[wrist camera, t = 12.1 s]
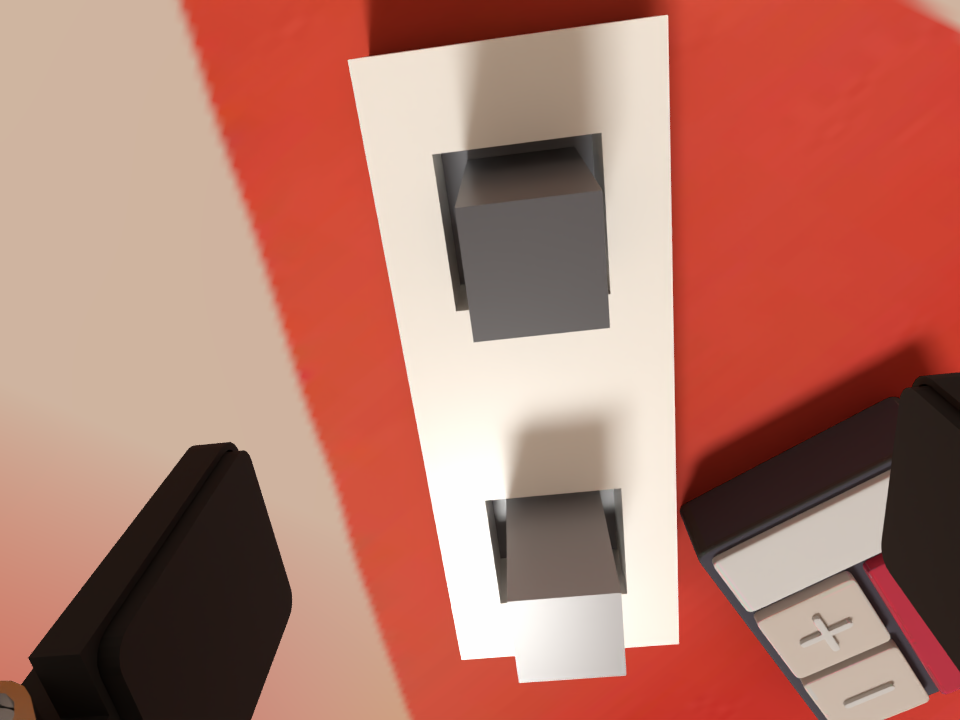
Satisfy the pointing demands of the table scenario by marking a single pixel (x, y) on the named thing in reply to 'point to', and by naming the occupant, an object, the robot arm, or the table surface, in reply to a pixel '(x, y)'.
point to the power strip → (545, 358)
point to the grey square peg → (563, 588)
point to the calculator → (823, 572)
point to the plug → (532, 245)
